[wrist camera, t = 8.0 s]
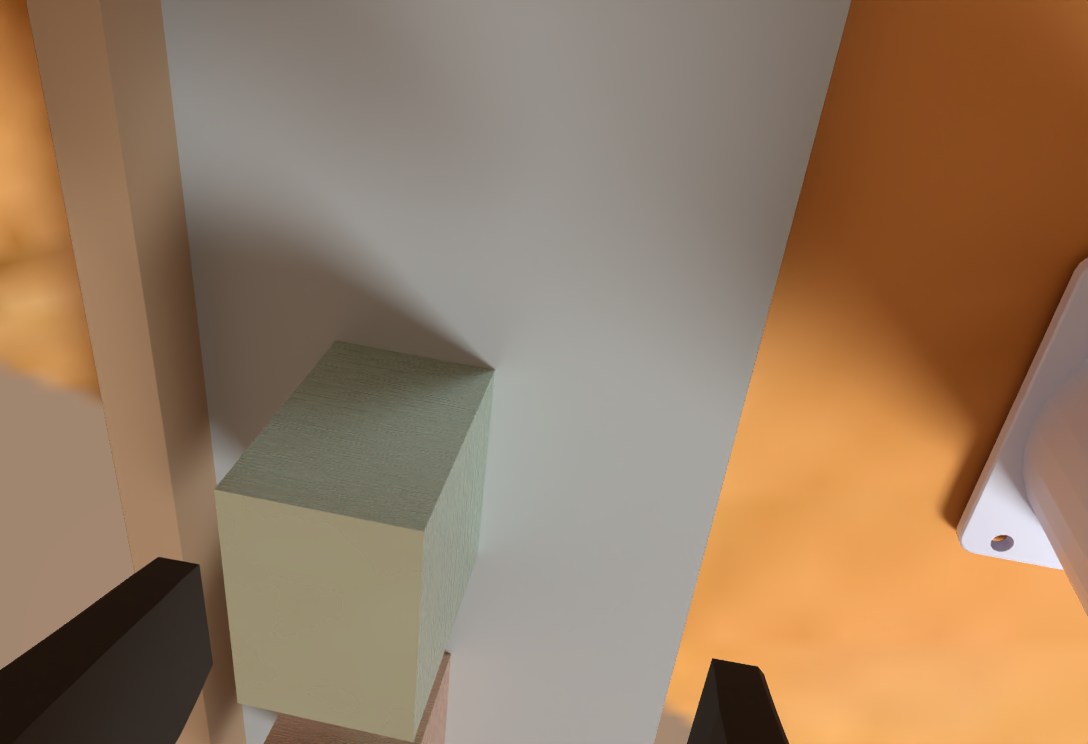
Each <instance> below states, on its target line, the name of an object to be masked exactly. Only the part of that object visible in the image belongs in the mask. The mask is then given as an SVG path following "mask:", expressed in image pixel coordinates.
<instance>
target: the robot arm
mask: <svg viewBox="0 0 1088 744" xmlns="http://www.w3.org/2000/svg"><path fill="white" fill-rule="evenodd" d="M956 534H957V537H958V539H959V542H960V544H961V546H962V547H963V548H964V549H965V550H966V551H969V552H971V553H975V554H980V555H986V556H991V557H996V558H1002V559H1007V560H1012V561H1018V562H1023V563H1028V564H1034V565H1039V566H1044V567H1050V568H1055V569H1060V570H1064V571H1065V573H1066V575H1067V577H1068V579H1069V581H1070V583H1071V585H1072V587H1073V589H1074V591H1075V593H1076V595H1077V596H1078V598H1079V600H1080V602H1081V604H1082V606H1083V608H1084V610H1085V612H1086V614H1087V616H1088V257H1087V258H1086V259H1085V260H1083V261H1082V262H1081V263H1079V265H1078V266H1077V268H1076V269H1075V270H1074V272H1073V274H1072V277H1071V279H1070V281H1069V283H1068V285H1067V288H1066V290H1065V292H1064V294H1063V296H1062V298H1061V301H1060V303H1059V305H1058V307H1057V309H1056V312H1055V314H1054V316H1053V318H1052V320H1051V323H1050V325H1049V327H1048V329H1047V331H1046V333H1045V336H1044V338H1043V340H1042V342H1041V344H1040V347H1039V349H1038V351H1037V353H1036V355H1035V357H1034V360H1033V362H1032V364H1031V366H1030V368H1029V371H1028V373H1027V375H1026V377H1025V379H1024V381H1023V384H1022V386H1021V388H1020V390H1019V392H1018V395H1017V397H1016V399H1015V401H1014V403H1013V405H1012V408H1011V410H1010V412H1009V414H1008V416H1007V419H1006V421H1005V423H1004V425H1003V427H1002V430H1001V432H1000V434H999V436H998V438H997V440H996V443H995V445H994V447H993V449H992V451H991V454H990V456H989V458H988V460H987V462H986V464H985V467H984V469H983V471H982V473H981V475H980V478H979V480H978V482H977V484H976V486H975V488H974V491H973V493H972V495H971V497H970V499H969V502H968V504H967V506H966V508H965V510H964V513H963V515H962V517H961V519H960V521H959V523H958V526H957V530H956ZM999 535H1007V537H1006V538H1005V539H1003V540H1000V541H993V538H994V537H997V536H999ZM212 666H213V659H212V652H211V645H210V637H209V630H208V623H207V615H206V608H205V601H204V593H203V586H202V579H201V571H200V564H195V563H190V562H185V561H179V560H174V559H168V558H163V557H157V558H156V559H154V560H153V561H151V562H150V563H149V564H147V565H146V566H144V567H143V568H142V569H140V570H139V571H137V572H136V573H135V574H133V575H132V576H130V577H129V578H128V579H126V580H125V581H124V582H122V583H121V584H120V585H118V586H117V587H115V588H114V589H113V590H111V591H110V592H109V593H107V594H106V595H104V596H103V597H102V598H100V599H99V600H98V601H96V602H95V603H94V604H92V605H91V606H90V607H88V608H87V609H86V610H84V611H83V612H81V613H80V614H79V615H77V616H76V617H75V618H73V619H72V620H70V621H69V622H68V623H66V624H65V625H64V626H62V627H61V628H59V629H58V630H57V631H55V632H54V633H53V634H51V635H50V636H48V637H47V638H45V639H44V640H42V641H41V642H40V643H38V644H37V645H35V646H34V647H32V648H31V649H30V650H28V651H27V652H25V653H24V654H23V655H21V656H20V657H18V658H17V659H15V660H14V661H13V662H11V663H10V664H8V665H7V666H5V667H4V668H2V669H1V670H0V744H175V743H176V742H177V740H178V738H179V737H180V735H181V733H182V731H183V729H184V727H185V725H186V723H187V721H188V718H189V716H190V714H191V712H192V710H193V708H194V706H195V704H196V702H197V699H198V697H199V695H200V693H201V690H202V688H203V686H204V684H205V681H206V679H207V677H208V675H209V672H210V670H211V668H212ZM687 744H789V742H788V740H787V737H786V735H785V732H784V730H783V727H782V724H781V722H780V719H779V716H778V714H777V711H776V708H775V706H774V703H773V700H772V697H771V694H770V691H769V688H768V685H767V682H766V679H765V676H764V674H763V673H762V671H761V670H760V669H759V667H757V666H751V665H746V664H740V663H735V662H729V661H724V660H719V659H713V658H712V661H711V665H710V668H709V671H708V675H707V678H706V681H705V685H704V688H703V691H702V695H701V698H700V701H699V705H698V708H697V712H696V715H695V718H694V722H693V725H692V728H691V732H690V735H689V739H688V742H687Z"/></svg>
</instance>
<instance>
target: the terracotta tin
mask: <svg viewBox="0 0 1088 744" xmlns="http://www.w3.org/2000/svg"><path fill="white" fill-rule="evenodd" d="M450 662H451V654H449V653H444V655H443V657H442V660H441V663H440V666H439V669H438V672H437V675H436V678H435V681H434V684H433V686H432V689H431V692H430V695H429V698H428V701H427V704H426V707H425V710H424V713H423V715H422V718H421V721H420V724H419V727H418V730H417V733H416V736H415V739H414V742H409V741H405V740H400V739H396V738H391V737H387V736H383V735H378V734H374V733H369V732H365V731H360V730H356V729H351V728H347V727H342V726H338V725H333V724H329V723H324V722H320V721H315V720H311V719H307V718H302V717H298V716H293V715H289V714H284V713H279V715H278V717H277V719H276V721H275V722H274V724H273V726H272V728H271V730H270V732H269V734H268V736H267V738H266V740H265V742H264V744H445V733H446V718H447V704H448V690H449V676H450Z"/></svg>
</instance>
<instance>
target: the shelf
mask: <svg viewBox="0 0 1088 744" xmlns="http://www.w3.org/2000/svg"><path fill="white" fill-rule="evenodd" d="M26 3H27V9H28V14H29V19H30V25H31V30H32V35H33V40H34V46H35V51H36V56H37V61H38V67H39V72H40V77H41V82H42V88H43V93H44V98H45V104H46V109H47V114H48V119H49V125H50V130H51V135H52V140H53V146H54V151H55V156H56V161H57V167H58V172H59V177H60V182H61V188H62V193H63V198H64V204H65V209H66V214H67V219H68V225H69V230H70V235H71V240H72V246H73V251H74V256H75V261H76V267H77V272H78V277H79V282H80V288H81V293H82V298H83V304H84V309H85V314H86V319H87V325H88V330H89V335H90V340H91V346H92V351H93V356H94V361H95V367H96V372H97V377H98V383H99V388H100V393H101V398H102V404H103V409H104V414H105V419H106V425H107V430H108V434H109V440H110V445H111V450H112V456H113V461H114V467H115V472H116V477H117V482H118V487H119V493H120V498H121V504H122V509H123V514H124V519H125V524H126V529H127V535H128V540H129V546H130V551H131V556H132V561H133V567H134V572H135V573H136V572H137V571H139V570H140V569H142V568H143V567H144V566H146V565H147V564H149V563H150V562H151V561H153V560H154V559H156V558H157V557H163V558H168V559H174V560H179V561H185V562H190V563H195V564H200V571H201V579H202V586H203V593H204V601H205V608H206V615H207V623H208V630H209V637H210V645H211V652H212V659H213V666H212V668H211V670H210V672H209V675H208V677H207V679H206V681H205V684H204V686H203V688H202V690H201V693H200V695H199V697H198V699H197V702H196V704H195V706H194V708H193V710H192V712H191V714H190V716H189V718H188V721H187V723H186V725H185V727H184V729H183V731H182V733H181V735H180V737H179V738H178V740H177V742H176V743H175V744H264V742H265V740H266V738H267V736H268V734H269V732H270V730H271V728H272V726H273V724H274V722H275V721H276V719H277V717H278V715H279V713H280V712H275V711H271V710H266V709H262V708H257V707H253V706H248V705H244V704H239V703H238V702H237V693H236V684H235V675H234V666H233V657H232V648H231V639H230V630H229V621H228V612H227V603H226V594H225V585H224V576H223V567H222V558H221V549H220V540H219V531H218V522H217V513H216V504H215V495H214V489H215V488H216V486H217V485H218V484H219V483H220V481H221V480H222V479H223V478H224V477H225V475H226V474H227V473H228V472H229V470H230V469H231V468H232V467H233V466H234V464H235V463H236V462H237V461H238V459H239V458H240V457H241V456H242V454H243V453H244V452H245V451H246V450H247V448H248V447H249V446H250V445H251V443H252V442H253V441H254V440H255V439H256V437H257V436H258V435H259V434H260V432H261V431H262V430H263V429H264V428H265V426H266V425H267V424H268V423H269V421H270V420H271V419H272V418H273V417H274V415H275V414H276V413H277V412H278V410H279V409H280V408H281V407H282V406H283V404H284V403H285V402H286V401H287V399H288V398H289V397H290V396H291V395H292V393H293V392H294V391H295V390H296V388H297V387H298V386H299V385H300V384H301V382H302V381H303V380H304V379H305V377H306V376H307V375H308V374H309V373H310V371H311V370H312V369H313V368H314V366H315V365H316V364H317V363H318V362H319V360H320V359H321V358H322V357H323V355H324V354H325V353H326V352H327V351H328V349H329V348H330V347H331V346H332V344H333V343H334V342H335V341H341V342H346V343H352V344H357V345H363V346H368V347H374V348H379V349H385V350H390V351H396V352H401V353H407V354H412V355H418V356H423V357H429V358H434V359H440V360H445V361H450V362H456V363H461V364H467V365H472V366H478V367H483V368H489V369H494V370H495V377H494V388H493V398H492V409H491V419H490V430H489V441H488V451H487V462H486V472H485V483H484V494H483V504H482V515H481V525H480V536H479V547H478V556H477V559H476V562H475V565H474V568H473V570H472V573H471V576H470V579H469V582H468V585H467V588H466V591H465V594H464V597H463V599H462V602H461V605H460V608H459V611H458V614H457V617H456V620H455V623H454V626H453V628H452V631H451V634H450V637H449V640H448V643H447V646H446V649H445V652H444V653H449V654H451V662H450V676H449V690H448V704H447V718H446V733H445V744H654V740H655V736H656V732H657V728H658V725H659V721H660V717H661V714H662V710H663V706H664V702H665V699H666V695H667V691H668V687H669V684H670V680H671V676H672V672H673V669H674V665H675V661H676V657H677V654H678V650H679V646H680V642H681V639H682V635H683V631H684V627H685V624H686V620H687V616H688V612H689V609H690V605H691V601H692V597H693V594H694V590H695V586H696V582H697V579H698V575H699V571H700V567H701V563H702V560H703V556H704V552H705V548H706V545H707V541H708V537H709V533H710V530H711V526H712V522H713V518H714V515H715V511H716V507H717V503H718V500H719V496H720V492H721V488H722V485H723V481H724V477H725V473H726V470H727V466H728V462H729V458H730V455H731V451H732V447H733V443H734V440H735V436H736V432H737V428H738V425H739V421H740V417H741V413H742V410H743V406H744V402H745V398H746V395H747V391H748V387H749V383H750V380H751V376H752V372H753V368H754V365H755V361H756V357H757V353H758V350H759V346H760V342H761V338H762V335H763V331H764V327H765V323H766V319H767V316H768V312H769V308H770V304H771V301H772V297H773V293H774V289H775V286H776V282H777V278H778V274H779V271H780V267H781V263H782V259H783V256H784V252H785V248H786V244H787V241H788V237H789V233H790V229H791V226H792V222H793V218H794V214H795V211H796V207H797V203H798V199H799V196H800V192H801V188H802V184H803V181H804V177H805V173H806V169H807V166H808V162H809V158H810V154H811V151H812V147H813V143H814V139H815V136H816V132H817V128H818V124H819V121H820V117H821V113H822V109H823V106H824V102H825V98H826V94H827V91H828V87H829V83H830V79H831V75H832V72H833V68H834V64H835V60H836V57H837V53H838V49H839V45H840V42H841V38H842V34H843V30H844V27H845V23H846V19H847V15H848V12H849V8H850V4H851V0H26Z"/></svg>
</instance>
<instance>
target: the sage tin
mask: <svg viewBox="0 0 1088 744" xmlns="http://www.w3.org/2000/svg"><path fill="white" fill-rule="evenodd" d="M494 377H495V370H494V369H489V368H483V367H478V366H472V365H467V364H461V363H456V362H450V361H445V360H440V359H434V358H429V357H423V356H418V355H412V354H407V353H401V352H396V351H390V350H385V349H379V348H374V347H368V346H363V345H357V344H352V343H346V342H341V341H335V342H334V343H333V344H332V346H331V347H330V348H329V349H328V351H327V352H326V353H325V354H324V355H323V357H322V358H321V359H320V360H319V362H318V363H317V364H316V365H315V366H314V368H313V369H312V370H311V371H310V373H309V374H308V375H307V376H306V377H305V379H304V380H303V381H302V382H301V384H300V385H299V386H298V387H297V388H296V390H295V391H294V392H293V393H292V395H291V396H290V397H289V398H288V399H287V401H286V402H285V403H284V404H283V406H282V407H281V408H280V409H279V410H278V412H277V413H276V414H275V415H274V417H273V418H272V419H271V420H270V421H269V423H268V424H267V425H266V426H265V428H264V429H263V430H262V431H261V432H260V434H259V435H258V436H257V437H256V439H255V440H254V441H253V442H252V443H251V445H250V446H249V447H248V448H247V450H246V451H245V452H244V453H243V454H242V456H241V457H240V458H239V459H238V461H237V462H236V463H235V464H234V466H233V467H232V468H231V469H230V470H229V472H228V473H227V474H226V475H225V477H224V478H223V479H222V480H221V481H220V483H219V484H218V485H217V486H216V488H215V489H214V495H215V504H216V513H217V522H218V531H219V540H220V549H221V558H222V567H223V576H224V585H225V594H226V603H227V612H228V621H229V630H230V639H231V648H232V657H233V666H234V675H235V684H236V693H237V702H238V703H239V704H244V705H248V706H253V707H257V708H262V709H266V710H271V711H275V712H280V713H284V714H289V715H293V716H298V717H302V718H307V719H311V720H315V721H320V722H324V723H329V724H333V725H338V726H342V727H347V728H351V729H356V730H360V731H365V732H369V733H374V734H378V735H383V736H387V737H391V738H396V739H400V740H405V741H409V742H414V739H415V736H416V733H417V730H418V727H419V724H420V721H421V718H422V715H423V713H424V710H425V707H426V704H427V701H428V698H429V695H430V692H431V689H432V686H433V684H434V681H435V678H436V675H437V672H438V669H439V666H440V663H441V660H442V657H443V655H444V652H445V649H446V646H447V643H448V640H449V637H450V634H451V631H452V628H453V626H454V623H455V620H456V617H457V614H458V611H459V608H460V605H461V602H462V599H463V597H464V594H465V591H466V588H467V585H468V582H469V579H470V576H471V573H472V570H473V568H474V565H475V562H476V559H477V556H478V547H479V536H480V525H481V515H482V504H483V494H484V483H485V472H486V462H487V451H488V441H489V430H490V419H491V409H492V398H493V388H494Z"/></svg>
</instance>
